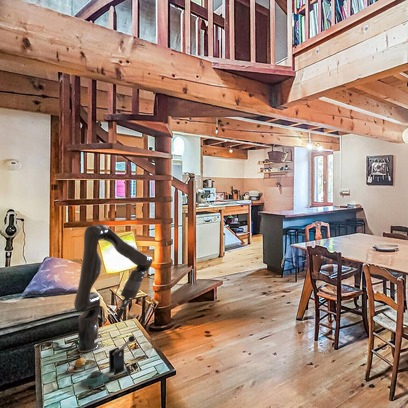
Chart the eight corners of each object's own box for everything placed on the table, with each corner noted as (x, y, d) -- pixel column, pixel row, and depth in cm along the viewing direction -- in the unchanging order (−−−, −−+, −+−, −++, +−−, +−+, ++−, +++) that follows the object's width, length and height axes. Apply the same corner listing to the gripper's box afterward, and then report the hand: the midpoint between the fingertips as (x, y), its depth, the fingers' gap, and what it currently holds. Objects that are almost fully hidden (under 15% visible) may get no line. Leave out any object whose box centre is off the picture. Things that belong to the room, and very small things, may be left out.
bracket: (118, 367, 169) (118, 344, 169) (130, 372, 165) (130, 348, 165) (102, 375, 162) (102, 351, 161) (114, 380, 158) (114, 355, 157)
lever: (133, 337, 173) (131, 333, 171) (137, 339, 172) (135, 335, 170) (113, 357, 163) (110, 353, 162) (117, 358, 162) (114, 354, 161)
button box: (81, 384, 154) (81, 377, 154) (96, 377, 160) (96, 369, 160) (93, 390, 150) (93, 382, 150) (109, 382, 157) (109, 374, 156)
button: (88, 377, 154) (88, 374, 154) (97, 373, 157) (97, 370, 157) (93, 379, 153) (93, 375, 153) (101, 375, 156) (101, 372, 156)
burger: (101, 363, 173) (101, 350, 173) (83, 376, 161) (83, 361, 161) (80, 362, 173) (79, 349, 173) (60, 375, 161) (60, 360, 161)
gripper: (124, 285, 184) (112, 313, 180) (123, 288, 172) (109, 318, 168) (138, 288, 188) (126, 316, 183) (138, 291, 175) (125, 321, 171)
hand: (118, 317), depth 175 cm, fingers open, 8 cm apart
